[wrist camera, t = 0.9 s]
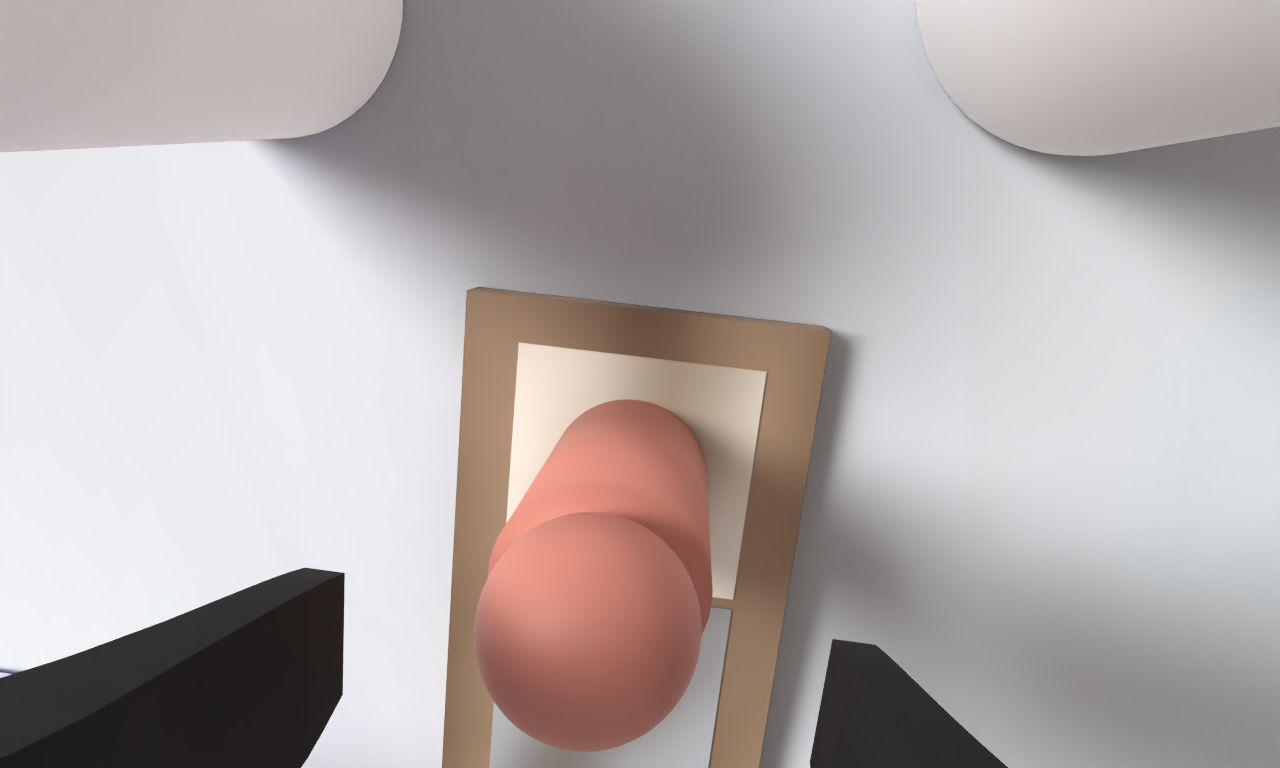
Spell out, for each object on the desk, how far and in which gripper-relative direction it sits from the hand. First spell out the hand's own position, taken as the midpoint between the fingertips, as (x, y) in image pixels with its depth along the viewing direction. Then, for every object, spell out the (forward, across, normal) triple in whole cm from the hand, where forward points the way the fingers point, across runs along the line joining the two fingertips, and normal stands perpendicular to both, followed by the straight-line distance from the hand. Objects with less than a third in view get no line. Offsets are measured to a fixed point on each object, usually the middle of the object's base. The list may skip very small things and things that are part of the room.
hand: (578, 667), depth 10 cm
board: (+9, 0, +10) cm, 14 cm away
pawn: (+8, 0, 0) cm, 8 cm away
